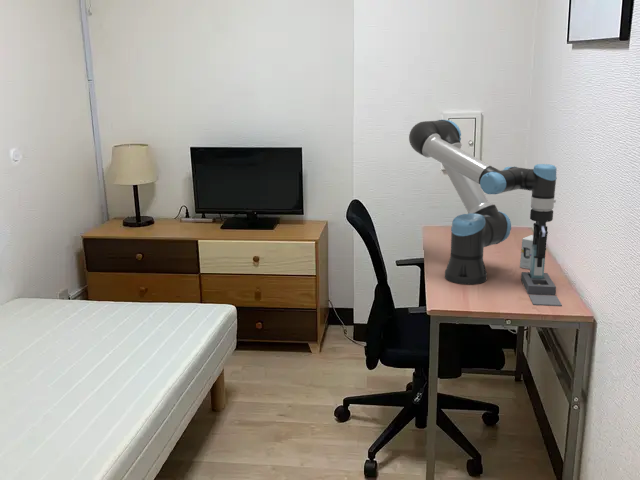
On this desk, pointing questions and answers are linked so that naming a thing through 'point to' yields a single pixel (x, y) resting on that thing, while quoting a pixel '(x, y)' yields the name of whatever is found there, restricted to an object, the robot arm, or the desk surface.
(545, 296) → the pad
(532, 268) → the plug
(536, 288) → the header
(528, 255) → the ink box
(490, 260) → the desk surface
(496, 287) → the desk surface
